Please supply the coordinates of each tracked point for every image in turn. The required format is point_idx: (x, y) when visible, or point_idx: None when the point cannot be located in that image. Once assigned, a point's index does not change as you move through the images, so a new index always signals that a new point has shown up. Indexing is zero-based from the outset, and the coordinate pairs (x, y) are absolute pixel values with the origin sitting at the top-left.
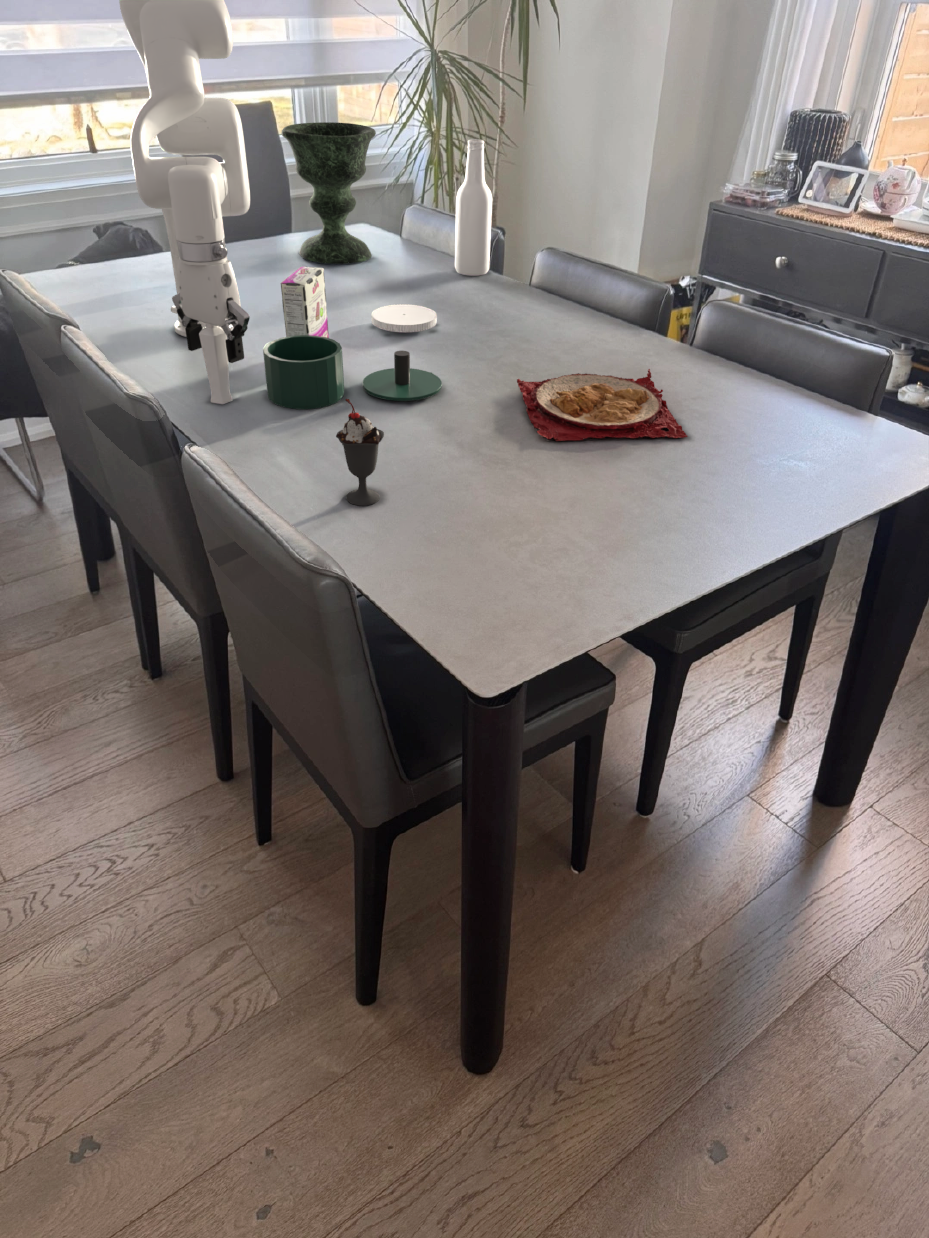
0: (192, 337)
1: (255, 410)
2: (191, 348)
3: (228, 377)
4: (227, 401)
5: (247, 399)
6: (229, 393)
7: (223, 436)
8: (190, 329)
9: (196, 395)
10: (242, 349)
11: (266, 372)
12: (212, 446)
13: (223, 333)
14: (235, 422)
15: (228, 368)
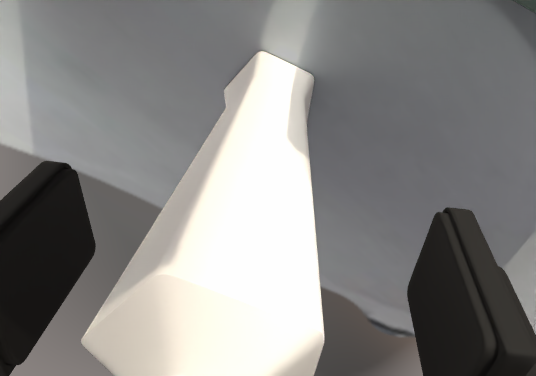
0: (49, 297)
1: (461, 105)
2: (89, 261)
3: (306, 129)
4: (309, 107)
5: (362, 30)
6: (306, 98)
7: None
8: (13, 354)
9: (158, 112)
10: (516, 296)
11: (530, 9)
12: None
13: (318, 358)
14: None
15: (307, 148)
